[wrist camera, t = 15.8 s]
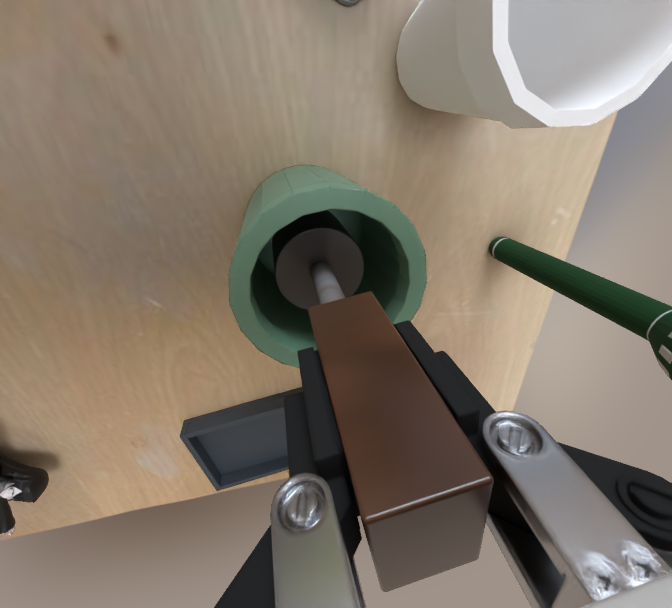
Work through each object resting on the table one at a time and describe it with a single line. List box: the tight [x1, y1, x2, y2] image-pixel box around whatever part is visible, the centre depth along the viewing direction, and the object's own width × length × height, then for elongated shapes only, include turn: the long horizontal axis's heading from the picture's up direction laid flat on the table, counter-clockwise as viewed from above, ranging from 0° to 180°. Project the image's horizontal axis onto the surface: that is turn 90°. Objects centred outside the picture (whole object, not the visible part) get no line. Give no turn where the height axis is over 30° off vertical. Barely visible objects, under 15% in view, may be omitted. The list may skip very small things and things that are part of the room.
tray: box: [180, 387, 303, 491], centre depth 36 cm, size 19×10×2 cm, turn 101°
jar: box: [229, 165, 427, 368], centre depth 21 cm, size 10×10×12 cm
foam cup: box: [396, 0, 672, 128], centre depth 17 cm, size 10×9×13 cm
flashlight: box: [489, 237, 672, 380], centre depth 22 cm, size 5×5×20 cm
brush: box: [272, 210, 494, 592], centre depth 14 cm, size 5×5×18 cm
